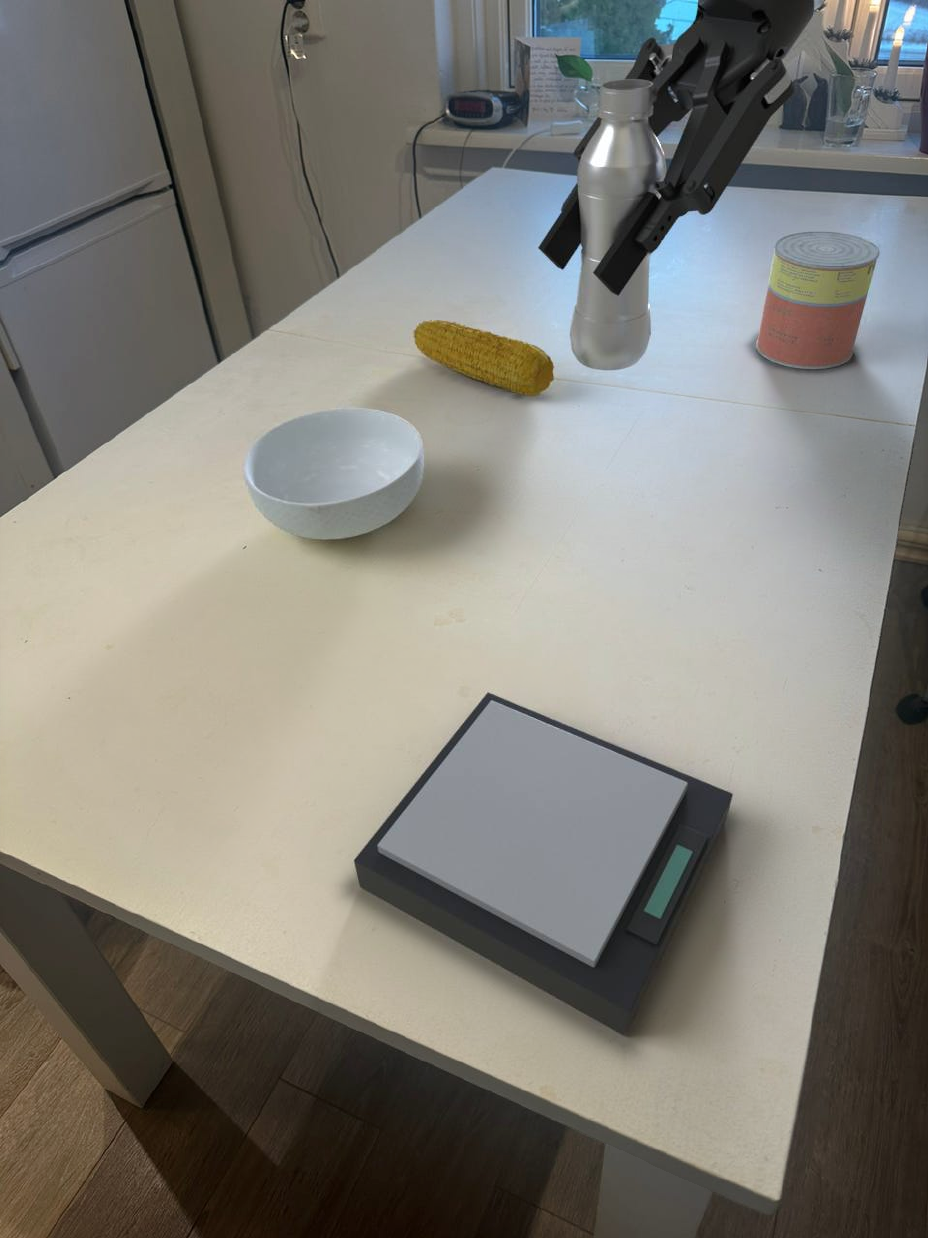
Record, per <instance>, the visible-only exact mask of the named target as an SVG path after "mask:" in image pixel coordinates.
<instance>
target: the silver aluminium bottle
mask: <svg viewBox="0 0 928 1238" xmlns="http://www.w3.org/2000/svg"><path fill="white" fill-rule="evenodd" d="M652 100H653V83H652V82H650V81H647V80H640V79H625V78H623V79H614V80H608V81H604V82H602V83H601V84H600V88H599V100H598V101H599V102H598V107H597V115H596V116H597V118H598V117H600V118H602V120H601V125H600V127H599V128H598V130H597V131H596V132H595V134H594V135H593V137H592V138H591V140H590V141H589V143H588V145H587V146H586V148H585V150H584V152H583V154H582V155H581V159H580V162H578V165H577V170H576V178H577V179H576V181H577V182H576V183H577V185H578V196H579V208H580V219H581V244H580V246H581V250H580V269H579V278H578V287H577V295H576V302H575V305H574V309H573V312H572V317H571V322H570V323H571V324H570V328H569V340H570V346H571V351H572V353H573V355H574V356H575V358H576V360H577V361H578V362H579V364H582V366H584V367H587V368H589V369H593V370H597V371H618V370H623V369H627V368H630V367H632V366H635V365H636V364H638V362H639V361H640V360H641V359H642V358H643V356H644V355H645V354H646V352H647V349H648V346H649V342H650V338H651V335H652V324H651V323H652V322H651V321H652V320H651V310H650V309H651V308H650V304H649V303H650V301H649V299H650V298H649V297H650V262H651V256H652V255H651V254H652V253H651V254H650V253H647V255H646V256H645V258H644V259H643V261H642V262H641V264H640V265H639V267H638V268H637V269H636V271H635V272H634V274H633V275H632V277H631V278H630V280H629V281H628V283H627V284H626V286H625V287H624V288H623V290H622V291H621V293H620V294H619V296H618V295H616V294H614V293H612V292H611V291H610V290H609V289H608V288H607V287H606V286H605V285H604V284H603V283H602V282H601V281H600V280H599V279H598V278H597V277H596V276H595V275H594V274H593V272H594V270H595V269H596V267H597V266H598V264H599V263H600V261H601V260H602V258H603V257H604V255H605V254H606V253H607V251H608V250H609V248H610V247H611V245H612V244H613V242H614V241H615V239H616V238H617V236H618V235H619V233H620V232H621V230H622V229H623V227H624V226H625V224H626V223H627V221H628V220H629V218H630V217H631V215H632V214H633V212H634V211H635V210H636V208H637V207H638V205H639V204H640V202H641V201H642V199H643V198H644V196H645V195H646V193H647V192H651V193H654V194H656V196H657V197H658V198H659V199H660V197H661V195H660V194H659V192H658V191H657V190H656V188H655V186H654V184H655V182H657V183H658V182H661V181H663V180H664V178H665V176H666V173H667V171H668V167H667V163H666V156H665V152H664V150H663V147H662V146H661V143H660V141H659V139H658V137H656V136H655V134H654V132H653V131H652V129H651V127H650V126H649V124H648V117H650V116H651V115H652V114H653V105H652ZM658 185H659V184H658Z"/></svg>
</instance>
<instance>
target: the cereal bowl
mask: <svg viewBox="0 0 928 1238" xmlns="http://www.w3.org/2000/svg"><path fill="white" fill-rule="evenodd" d="M424 470H425V452H424V445H423V439H422V437H421V434H420V433H419V431H418V430H417V429H416V427H415V426H414V425H413V424H412V423H411V422H409V421H408V420H406V419H405V418H403V417H401V416H399V415H396V414H394V413H390V412H387V411H383V410H378V409H372V408H364V407H363V408H362V407H338V408H329V409H324V410H323V409H322V410H317V411H313V412H308V413H305V414H302V415H299V416H296V417H292V418H290V419H288V420H285V421H283V422H281V423H279V424H277V425H275V426H273V427H272V428H270V429H268V430H267V431H266V432H264V433H263V434H262V435H261V436H259V437H258V438H257V439H256V440H255V441H254V442H253V443H252V444H251V446H250V447H249V448H248V450H247V451H246V454H245V457H244V459H243V464H242V472H243V473H242V474H243V478H244V482H245V485H246V487H247V491H248V493H249V496H250V498H251V501H253V503H254V506H255V507H256V508H257V510H258V512H259V513H260V514H261V515H262V516H263V517H264V518H265V519H266V520H267V521H268V522H269V523H271V524H272V525H274V526H275V527H277V528H278V529H280V530H282V531H283V532H285V533H289V534H291V535H294V536H297V537H300V538H305V539H312V540H323V541H326V540H340V539H342V540H343V539H347V538H353V537H358V536H361V535H365V534H367V533H371V532H373V531H375V530H377V529H379V528H382V527H383V526H386V525H387V524H388V523H390V522H392V521H393V520H394V519H396V518H397V517H398V516H399V515H401V514H402V513H403V512H404V511H406V509H408V507H409V505H411V503H412V502H413V500H414V499H415V497H416V495H417V494H418V492H419V490H420V488H421V486H422V485H421V484H422V482H423V476H424Z"/></svg>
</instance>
